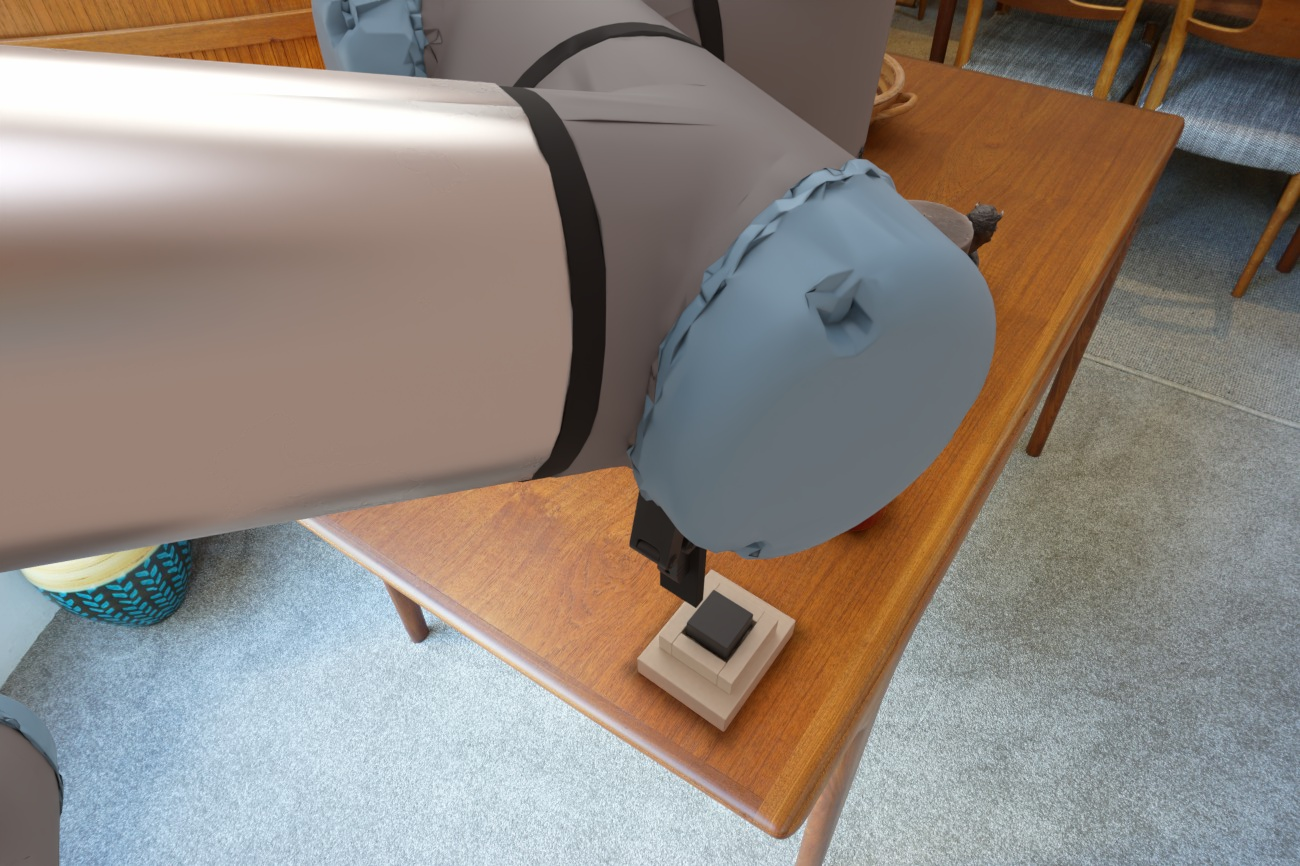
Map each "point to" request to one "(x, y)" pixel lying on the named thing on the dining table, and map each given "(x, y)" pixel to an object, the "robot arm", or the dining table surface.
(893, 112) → the wicker basket
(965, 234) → the pillar candle
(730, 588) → the front key block
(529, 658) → the dining table surface
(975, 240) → the bison figurine
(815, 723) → the dining table surface
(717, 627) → the black key
